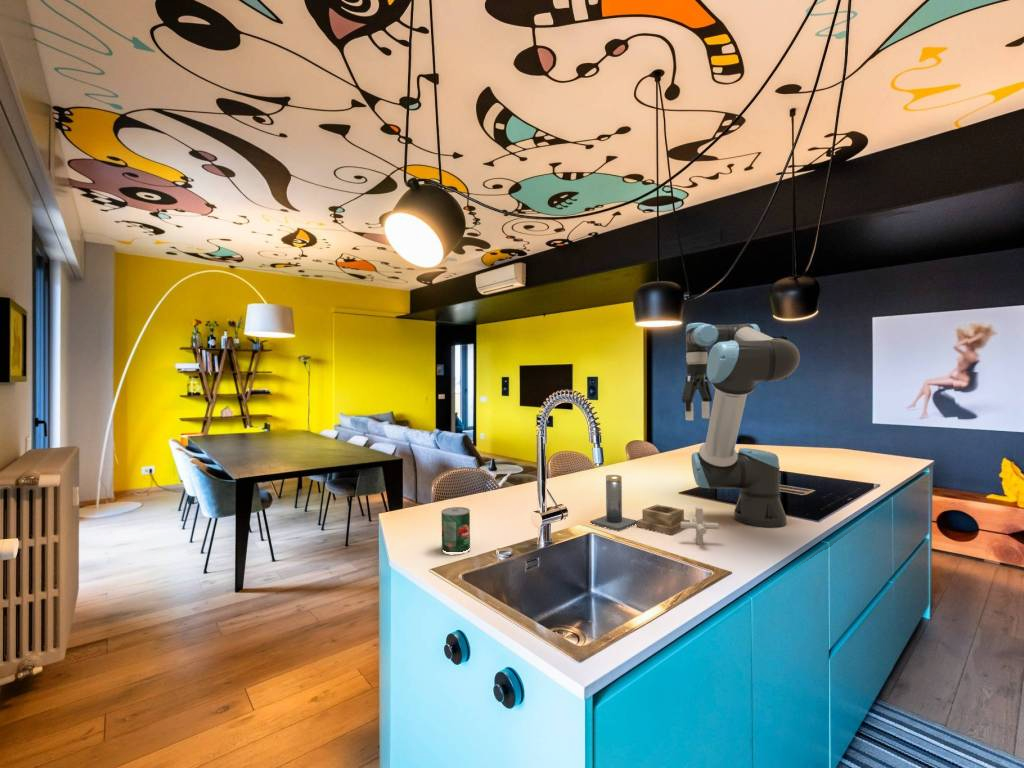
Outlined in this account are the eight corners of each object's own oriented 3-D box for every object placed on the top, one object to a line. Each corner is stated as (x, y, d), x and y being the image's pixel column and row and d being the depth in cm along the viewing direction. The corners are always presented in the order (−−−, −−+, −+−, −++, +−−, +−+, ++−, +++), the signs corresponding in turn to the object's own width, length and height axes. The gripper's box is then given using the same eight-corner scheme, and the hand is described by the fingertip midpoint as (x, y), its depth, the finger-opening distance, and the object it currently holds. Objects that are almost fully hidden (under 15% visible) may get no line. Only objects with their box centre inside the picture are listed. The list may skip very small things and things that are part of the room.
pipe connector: (722, 550, 126) (722, 513, 126) (683, 548, 128) (683, 512, 128) (714, 538, 136) (713, 504, 136) (678, 536, 138) (677, 503, 138)
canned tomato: (471, 554, 126) (470, 513, 126) (441, 556, 124) (441, 515, 124) (469, 544, 133) (468, 506, 134) (441, 546, 132) (441, 507, 132)
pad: (638, 523, 151) (638, 520, 151) (618, 531, 144) (618, 528, 144) (609, 517, 159) (609, 514, 159) (590, 524, 152) (590, 520, 152)
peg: (625, 520, 151) (624, 476, 151) (616, 524, 148) (615, 478, 148) (612, 517, 155) (611, 474, 155) (603, 520, 152) (602, 476, 152)
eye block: (690, 526, 147) (690, 509, 147) (671, 535, 139) (671, 517, 139) (655, 519, 156) (655, 502, 156) (636, 527, 148) (636, 509, 148)
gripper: (701, 364, 189) (702, 417, 189) (671, 363, 172) (672, 420, 172) (720, 364, 184) (721, 417, 184) (691, 362, 167) (692, 421, 167)
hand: (697, 419), depth 178 cm, fingers open, 13 cm apart
